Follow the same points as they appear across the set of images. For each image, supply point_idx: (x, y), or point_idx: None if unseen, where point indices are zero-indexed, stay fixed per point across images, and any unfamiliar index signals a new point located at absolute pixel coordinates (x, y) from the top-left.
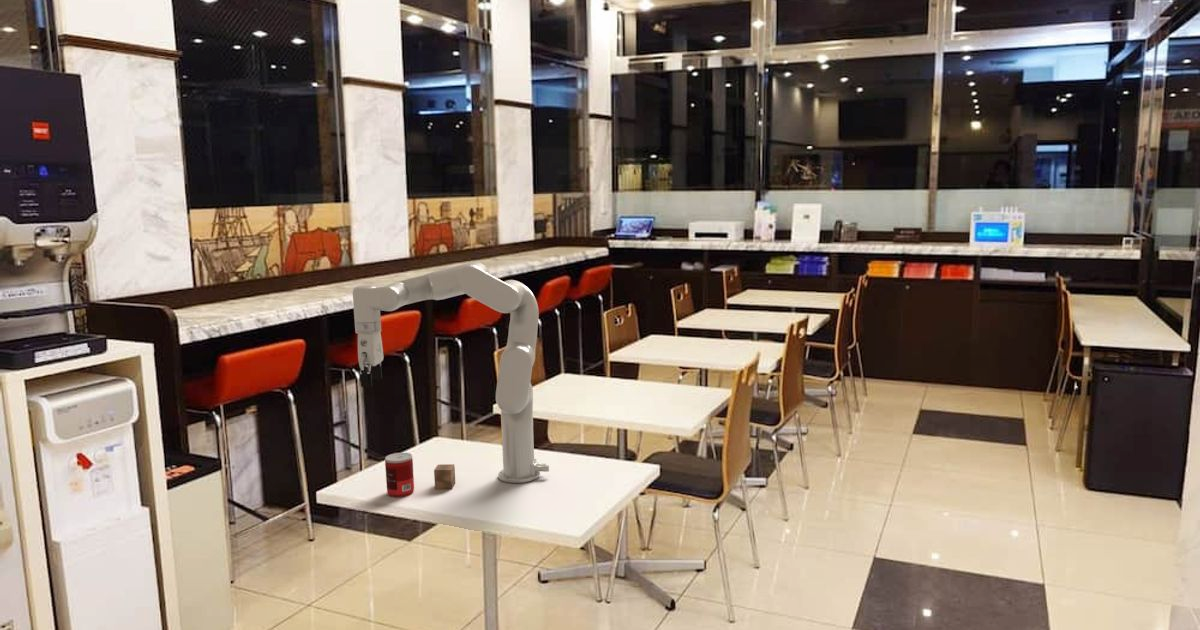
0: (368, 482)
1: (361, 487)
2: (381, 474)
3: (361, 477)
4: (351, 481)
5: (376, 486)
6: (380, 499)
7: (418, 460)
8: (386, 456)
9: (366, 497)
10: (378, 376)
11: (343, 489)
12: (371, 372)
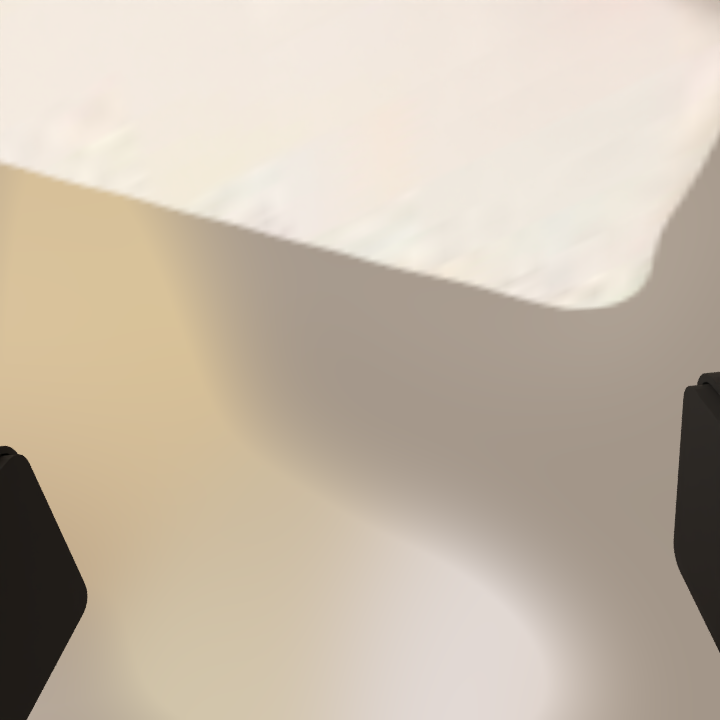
0: (458, 166)
1: (538, 169)
2: (324, 151)
3: (385, 241)
4: (449, 265)
5: (520, 87)
6: None
7: (43, 27)
8: None
9: (703, 61)
10: (11, 526)
11: (569, 251)
12: (23, 716)
